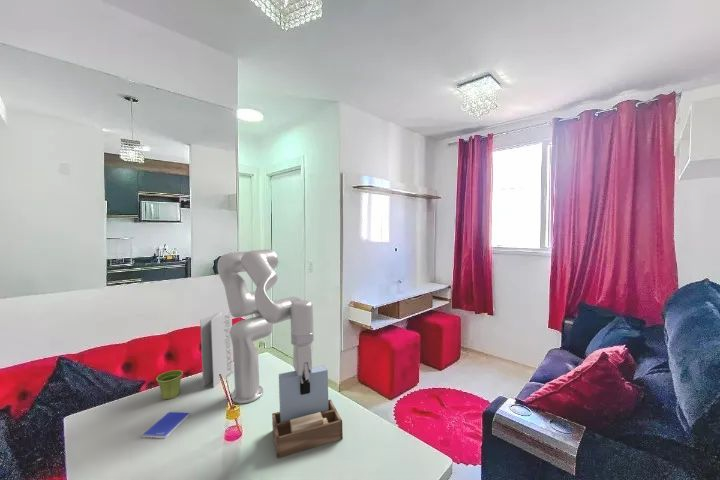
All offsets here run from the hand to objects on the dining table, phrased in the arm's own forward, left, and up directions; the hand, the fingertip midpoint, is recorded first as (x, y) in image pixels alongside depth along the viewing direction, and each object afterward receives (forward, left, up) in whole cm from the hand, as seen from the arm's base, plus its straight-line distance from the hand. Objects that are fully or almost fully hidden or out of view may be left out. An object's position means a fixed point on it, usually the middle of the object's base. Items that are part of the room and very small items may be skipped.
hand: (303, 389), depth 102 cm
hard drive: (-22, -45, -15) cm, 52 cm away
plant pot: (-44, -48, -14) cm, 66 cm away
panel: (0, 0, -14) cm, 14 cm away
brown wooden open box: (+3, 0, -14) cm, 14 cm away
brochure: (-51, -30, -14) cm, 60 cm away
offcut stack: (+6, 0, -14) cm, 15 cm away
